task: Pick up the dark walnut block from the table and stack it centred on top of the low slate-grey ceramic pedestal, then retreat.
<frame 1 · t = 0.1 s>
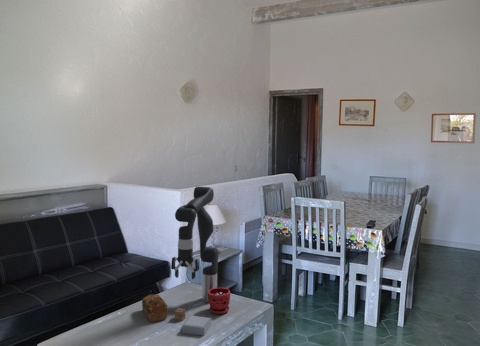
hand: (185, 278, 200), 29 cm above the table, fingers open, 8 cm apart
plant pot: (218, 311, 230), on the table
bread: (154, 315, 222), on the table
pedestal: (196, 328, 206), on the table
walnut cube: (180, 318, 218), on the table
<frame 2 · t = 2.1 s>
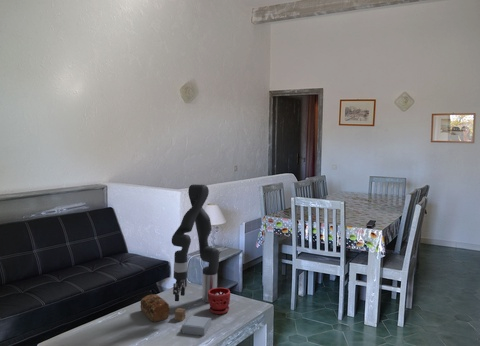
hand: (179, 298, 217), 12 cm above the table, fingers open, 8 cm apart
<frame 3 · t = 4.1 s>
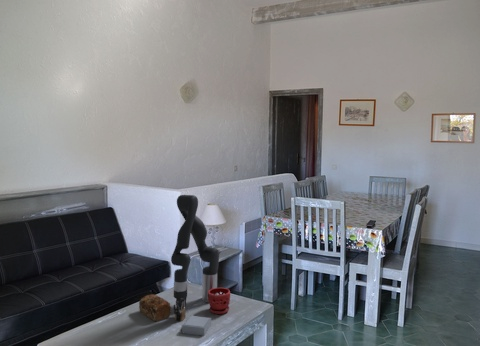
hand: (180, 318, 218), 0 cm above the table, fingers closed on walnut cube, 4 cm apart
walnut cube: (180, 318, 218), on the table, touching gripper
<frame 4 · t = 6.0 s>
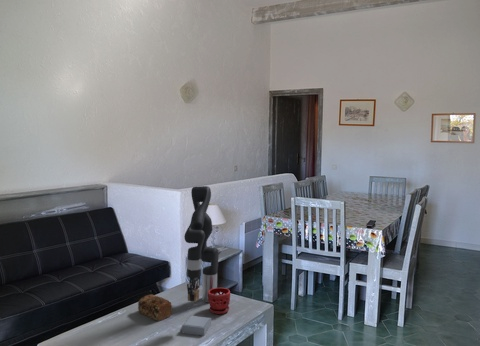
hand: (193, 298, 206), 16 cm above the table, fingers closed on walnut cube, 4 cm apart
walnut cube: (193, 299, 206), point 15 cm above the table, touching gripper
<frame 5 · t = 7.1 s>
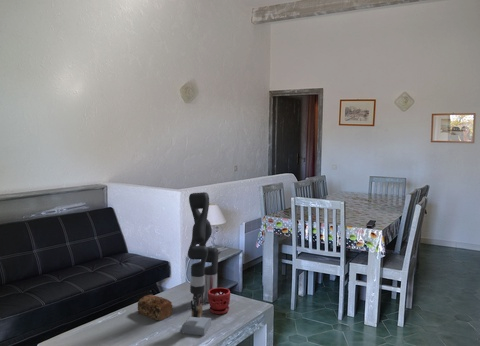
hand: (197, 314, 206), 8 cm above the table, fingers closed on walnut cube, 4 cm apart
walnut cube: (196, 315, 206), point 7 cm above the table, touching gripper
when the fingers open (5 cm above the table, at t = 7.9 s): walnut cube stays where it is, resting on pedestal.
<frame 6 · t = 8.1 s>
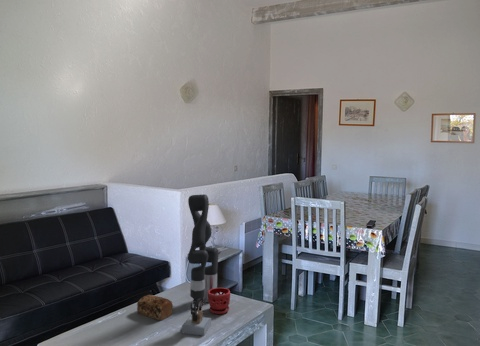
hand: (197, 318, 206), 6 cm above the table, fingers open, 6 cm apart
walnut cube: (197, 321, 206), point 4 cm above the table, touching pedestal
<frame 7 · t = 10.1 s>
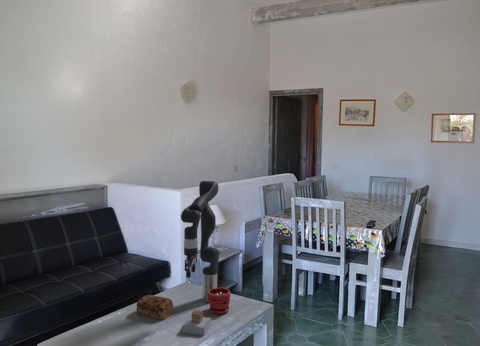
hand: (191, 274, 214), 26 cm above the table, fingers open, 8 cm apart
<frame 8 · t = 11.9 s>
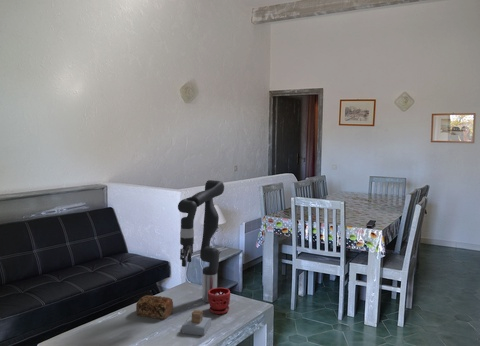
hand: (186, 264, 219), 30 cm above the table, fingers open, 8 cm apart
at the end: walnut cube inside the target area on the pedestal (0.1 cm from its centre), point 4.2 cm above the pedestal's base; walnut cube tilted 0°; the gripper is holding nothing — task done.
